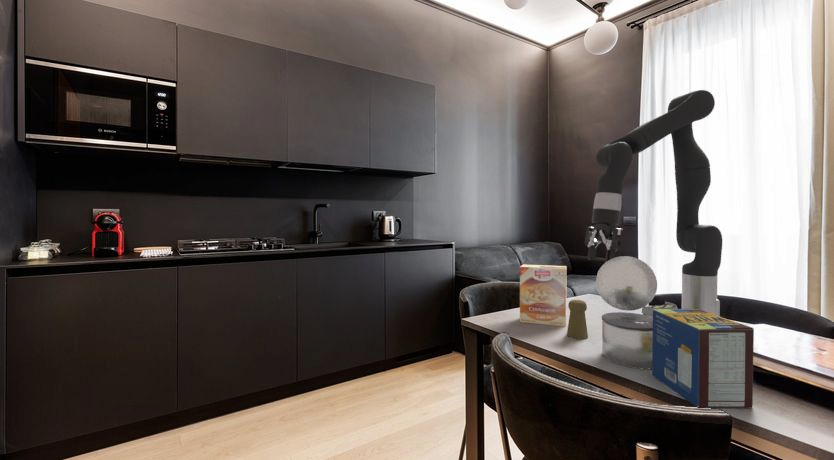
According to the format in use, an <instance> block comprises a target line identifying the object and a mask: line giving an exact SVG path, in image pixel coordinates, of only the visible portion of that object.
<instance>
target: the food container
mask: <svg viewBox="0 0 834 460" xmlns="http://www.w3.org/2000/svg"><path fill="white" fill-rule="evenodd" d="M653 309H679V308H678V306H677V304H675V303H672V302H669V301H664V304H660V305H657V304H656V305H655V304H654V305H652V306H647V305H646V306H645V307H643V308H641V314H643V315H648V316H652V317H653Z"/></svg>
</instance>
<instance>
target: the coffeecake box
mask: <svg viewBox="0 0 834 460" xmlns="http://www.w3.org/2000/svg"><path fill="white" fill-rule="evenodd" d="M567 267H568V266H567V265H549V264H547V265H546V264H544V265H543V264H525V263H524V264H522V265H520V267H519V323H523V324H535V325H544V326H545V325H547V326H555V327H556V326H557V327H564V328H565V327H566V326H567V325H566V324H567V289H568V288H567V286H568V285H567V277H568V276H567V272H568V271H567Z"/></svg>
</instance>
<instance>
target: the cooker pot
mask: <svg viewBox="0 0 834 460" xmlns="http://www.w3.org/2000/svg"><path fill="white" fill-rule="evenodd" d="M601 321H602V323H601V324H602V328H601V329H602V330H601V331H602V332H601V333H602V335H601V344H602V345H601V353H602V354H601V355H602V357H603V358H604V359H606V360H607V361H609V362H612V363H614V364H617V365H619V366H623V367H628V368H632V367H633V369H640V368H643V370H652V338H653V317H652V316H648V315H643V313H634V312H622V311H619V312H616V311H615V312H607V313H604V314H602V315H601Z"/></svg>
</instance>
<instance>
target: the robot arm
mask: <svg viewBox="0 0 834 460" xmlns="http://www.w3.org/2000/svg"><path fill="white" fill-rule="evenodd" d="M715 102H716V101H715V98H714V95H713V94H712V93H711V92H710V91H708V90H706V89H697V90H692V91H690V92H687V93H684V94H681V95H678V96H676V97H674V98H673V99H671V101H670V102H669V103H668V107H667V112H665V113H663V114H661V115H660V116H657V117H655V118H653V119H650V120H647V122H644V123H643V124H640V125H639V126H638V127H635V128H634V129H632V130H631V131H629V132H628V133H627V134H625V135H623V136H622V137H619V138H617V139H614V140H613V141H611V142H608V143H606V144H605V145H604V146H602V147H601V148H600V149H598V151H597V153H596V154H595V155H596V156H595V161H596V162H597V165H599V166H600V167H601V168H605V169H606V171H605V172H604V173H603V174H601V175H600V176H598V179H597V185H596V193H595V196H594V199H593V200H594V201H593V207H592V208H593V209H592V215H591V223H592V224H594V225H593V226H587V228H586V233H585V239H584V245H585V246H586V247H587V248H588V253H587V260H589V261H595V260H596V257H597V247H598V246H599V245H600V244H601V243H603V244H604V245H605V246H606V252H605V261H604V263H606V262H607V261H609V260H610V259H613V258H615V256H616V255H615V254H616V252H617V250H621V249H622V248H623V238H624V237H623V235H624V229H623V228H618V227H616V226H619V225H620V217H621V212H622V211H621V209H622V204H623V203H622V196H623V188H624V187H623V186H624V180H625V179H626V176H627V175H628V172H629V169H630V166H631V165H632V160H633V156H634V155H638V154H639V153H642V152H644V151H645V150H646V149H648V148H650V147H651V146H653V145H654V144H656V143H658V142H659V141H661V140H662V139H664V138H666V137H667V136H669V135H671V140H672V148H673V150H672V151H673V157H674V159H673V160H674V177H675V187H676V206H677V207H676V209H677V211H676V232H675V233H676V234H675V235H676V243H677V245H678V247H679V248H680V249H681V251H684V252H685V253H686V252H687V253H691V254H692V253H693V254H694V258H693V260H692V261H689V262H687V263H684V264H683V265H682V267H681V309H700V310H702V311H705V312H708V313H711V314H714V315H717V316H720V317H721V315H720V310H721V309H720V308H721V307H720V306H721V301H720V299H718V272H719V269H720V267H721V264H722V263H721V262H722V255H723V254H722V251H723V234H722V232H721V230H720V229H719V228H718V227H717V226H715V225H712V224H700V223H699V211H700V206H701V204H702V202H703V199H704V198H705V197H706V195H707V193H708V190H709V188H710V186H711V183H712V181H711V180H712V177H711V164H710V160H709V158H708V157H707V155H706V153H705V152H704V150H702V148H701V147H700V145H699V144H698V143H697V141H696V140H695V137H694V129H693V123H694V122H698V121H701V120H703V119H705V118H707V117H708V116H710V114H712V112H713V110H714V108H715V105H716V103H715Z"/></svg>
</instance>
